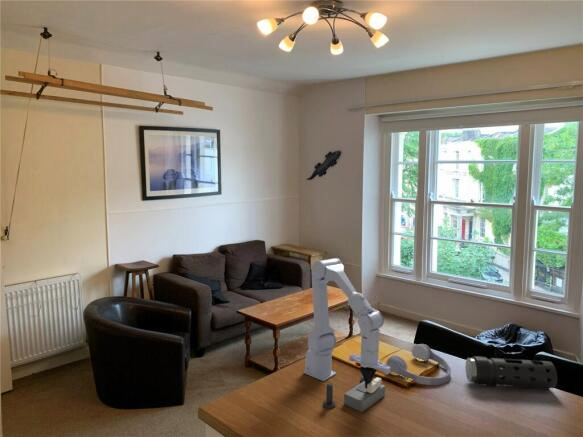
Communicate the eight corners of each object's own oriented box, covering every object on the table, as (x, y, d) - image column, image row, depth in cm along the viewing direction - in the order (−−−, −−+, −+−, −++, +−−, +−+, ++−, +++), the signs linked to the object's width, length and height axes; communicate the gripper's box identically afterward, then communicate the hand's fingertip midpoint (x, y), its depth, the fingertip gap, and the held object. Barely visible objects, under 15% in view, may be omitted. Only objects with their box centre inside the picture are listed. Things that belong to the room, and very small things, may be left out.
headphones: (382, 371, 166) (429, 395, 151) (384, 354, 164) (431, 376, 150) (415, 355, 180) (461, 376, 166) (417, 339, 179) (463, 359, 165)
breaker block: (344, 403, 142) (344, 385, 142) (367, 388, 153) (367, 371, 152) (362, 412, 138) (362, 393, 137) (384, 395, 148) (385, 377, 147)
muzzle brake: (556, 396, 149) (559, 368, 148) (471, 391, 152) (473, 362, 151) (543, 383, 159) (545, 356, 157) (463, 378, 162) (465, 351, 160)
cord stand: (320, 405, 141) (321, 385, 140) (328, 400, 144) (328, 380, 143) (330, 410, 139) (331, 389, 138) (337, 405, 142) (338, 384, 141)
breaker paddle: (367, 391, 142) (367, 384, 142) (372, 388, 145) (372, 381, 144) (371, 393, 141) (371, 386, 141) (376, 390, 144) (376, 382, 143)
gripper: (344, 345, 144) (343, 384, 146) (383, 358, 134) (381, 400, 136) (356, 339, 149) (355, 376, 151) (394, 351, 140) (392, 391, 141)
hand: (368, 387), depth 144 cm, fingers closed
